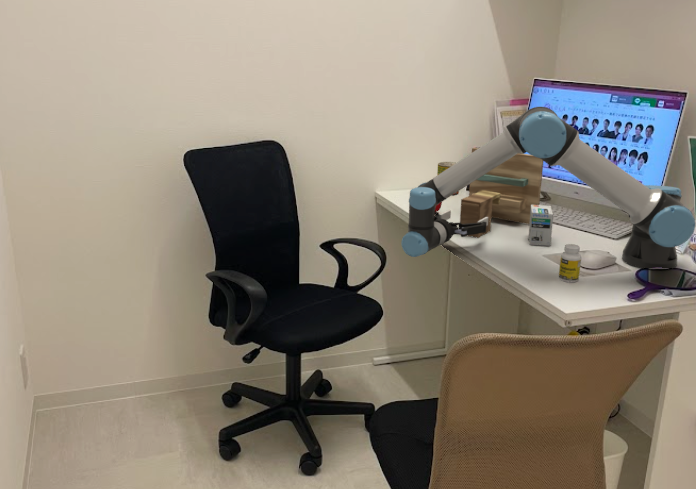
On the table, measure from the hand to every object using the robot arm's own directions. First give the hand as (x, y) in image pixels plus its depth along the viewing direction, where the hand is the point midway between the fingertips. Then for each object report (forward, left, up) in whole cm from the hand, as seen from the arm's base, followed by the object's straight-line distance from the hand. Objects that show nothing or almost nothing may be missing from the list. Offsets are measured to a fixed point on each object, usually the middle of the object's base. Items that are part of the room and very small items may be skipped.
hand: (468, 217), depth 231 cm
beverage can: (+56, +10, -7) cm, 58 cm away
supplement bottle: (-35, -29, -7) cm, 46 cm away
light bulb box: (-1, -23, -7) cm, 24 cm away
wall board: (+22, -11, -6) cm, 26 cm away
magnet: (+27, +14, -7) cm, 31 cm away
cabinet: (+7, -4, -6) cm, 10 cm away
